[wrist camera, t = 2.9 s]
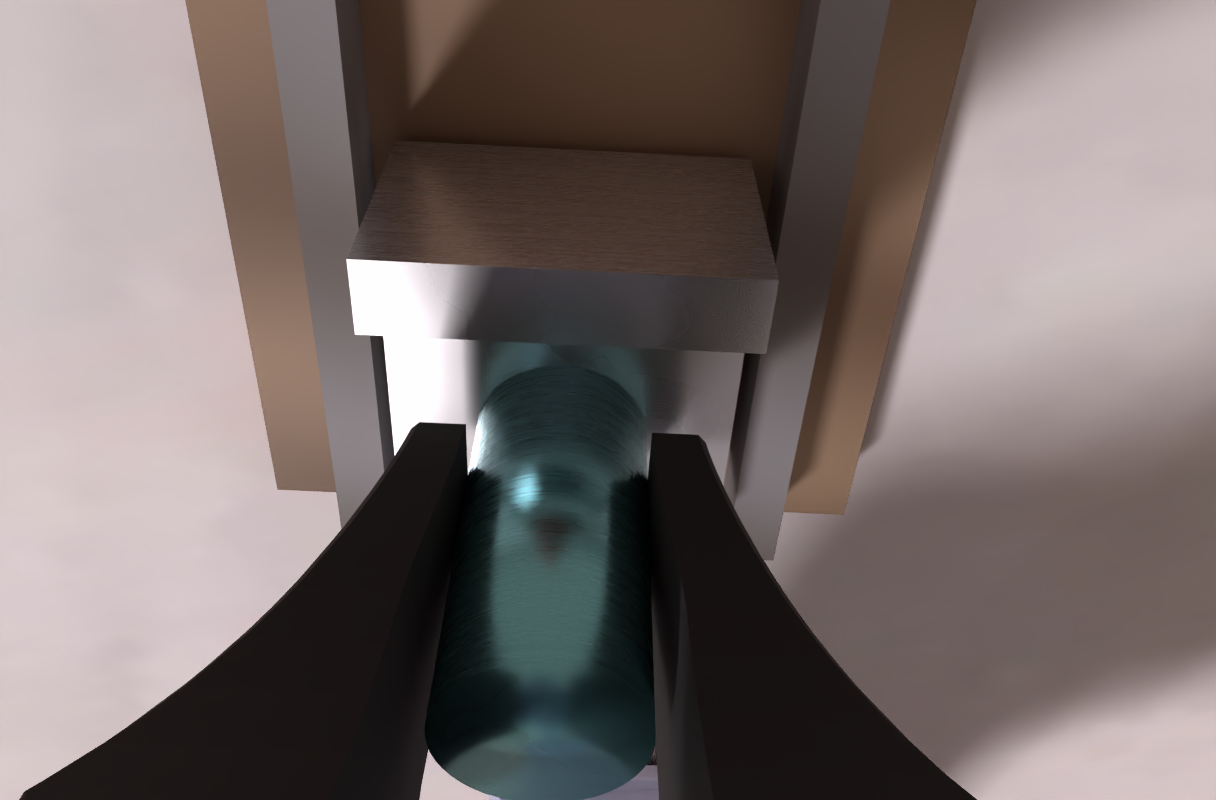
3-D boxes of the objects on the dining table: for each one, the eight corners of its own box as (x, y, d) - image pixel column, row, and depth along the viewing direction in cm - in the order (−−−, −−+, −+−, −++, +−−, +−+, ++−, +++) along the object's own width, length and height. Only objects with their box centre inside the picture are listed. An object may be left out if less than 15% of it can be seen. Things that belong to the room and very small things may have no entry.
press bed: (834, 477, 19) (895, 725, 15) (291, 452, 19) (197, 698, 15) (1239, -1185, 8) (1870, -1983, 4) (-8, -1287, 8) (-691, -2251, 4)
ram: (703, 486, 18) (739, 871, 12) (420, 474, 18) (333, 857, 12) (750, 158, 14) (830, 500, 9) (395, 140, 14) (256, 474, 9)
